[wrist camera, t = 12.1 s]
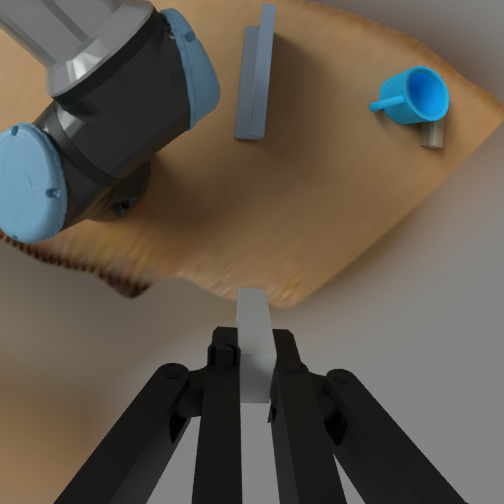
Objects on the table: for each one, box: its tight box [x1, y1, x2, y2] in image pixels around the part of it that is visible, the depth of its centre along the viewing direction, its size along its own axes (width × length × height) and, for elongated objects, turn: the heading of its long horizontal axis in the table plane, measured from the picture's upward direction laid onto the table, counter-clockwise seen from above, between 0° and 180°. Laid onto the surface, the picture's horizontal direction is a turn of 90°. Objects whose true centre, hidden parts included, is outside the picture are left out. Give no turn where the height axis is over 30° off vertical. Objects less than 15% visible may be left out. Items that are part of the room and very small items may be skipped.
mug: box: [369, 66, 449, 124], centre depth 38 cm, size 12×8×8 cm
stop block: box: [420, 77, 445, 148], centre depth 40 cm, size 2×12×4 cm, turn 175°
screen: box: [234, 3, 276, 140], centre depth 36 cm, size 4×18×9 cm, turn 175°
